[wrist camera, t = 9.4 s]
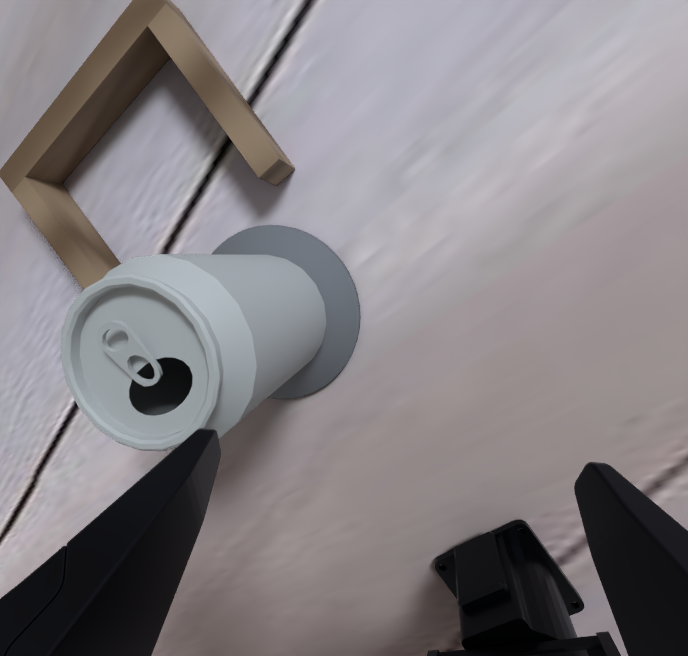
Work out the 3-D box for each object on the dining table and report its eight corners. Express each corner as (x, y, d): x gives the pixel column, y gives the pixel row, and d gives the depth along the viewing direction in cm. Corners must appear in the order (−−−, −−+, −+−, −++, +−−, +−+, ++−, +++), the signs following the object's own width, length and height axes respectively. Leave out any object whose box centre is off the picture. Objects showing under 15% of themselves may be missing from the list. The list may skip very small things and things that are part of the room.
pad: (396, 336, 23) (395, 337, 23) (264, 426, 27) (262, 428, 26) (287, 187, 23) (285, 185, 23) (167, 295, 26) (164, 295, 26)
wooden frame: (295, 168, 23) (279, 158, 21) (135, 314, 27) (106, 320, 25) (178, 8, 23) (148, -21, 20) (36, 180, 27) (-3, 173, 25)
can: (259, 392, 26) (118, 504, 14) (197, 296, 26) (2, 330, 14) (353, 335, 24) (277, 412, 12) (286, 230, 23) (143, 205, 12)
